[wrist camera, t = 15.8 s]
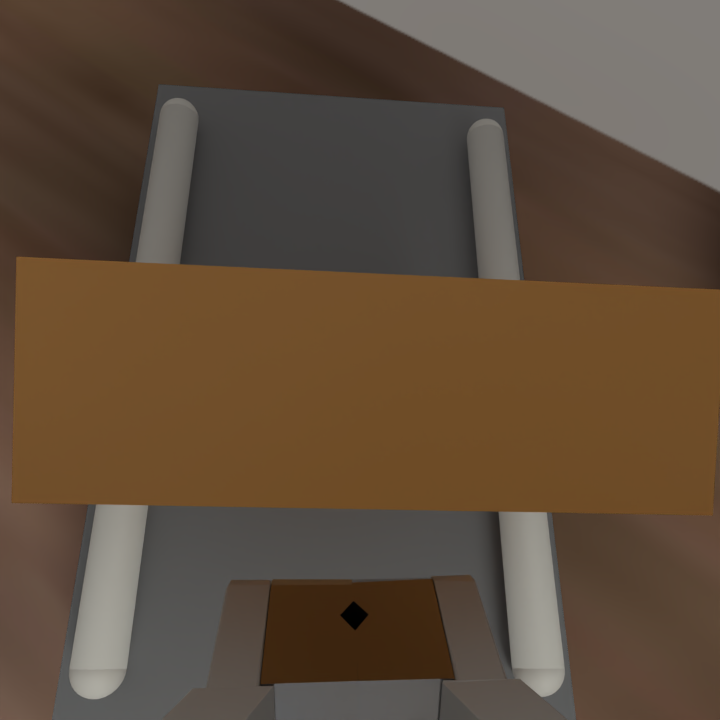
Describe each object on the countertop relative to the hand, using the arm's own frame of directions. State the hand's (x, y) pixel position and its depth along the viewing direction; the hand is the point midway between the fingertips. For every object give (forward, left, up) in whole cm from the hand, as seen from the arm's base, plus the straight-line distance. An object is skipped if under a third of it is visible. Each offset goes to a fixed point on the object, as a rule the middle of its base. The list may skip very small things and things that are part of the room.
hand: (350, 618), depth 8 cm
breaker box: (0, -7, -14) cm, 16 cm away
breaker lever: (0, -7, -8) cm, 11 cm away
